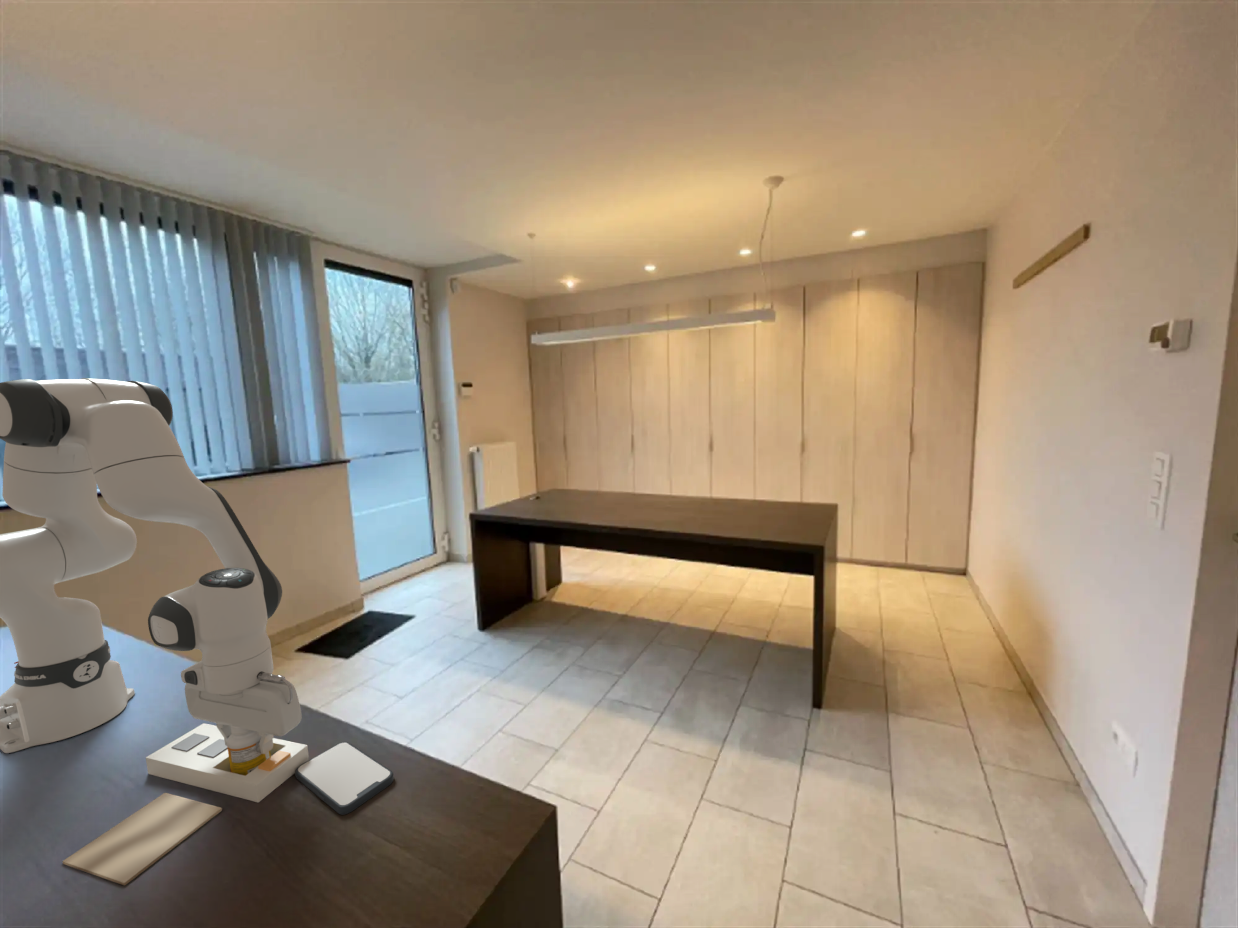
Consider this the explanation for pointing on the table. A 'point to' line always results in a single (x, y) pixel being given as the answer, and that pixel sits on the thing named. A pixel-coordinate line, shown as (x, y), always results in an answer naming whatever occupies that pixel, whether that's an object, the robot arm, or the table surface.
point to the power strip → (224, 764)
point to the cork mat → (142, 838)
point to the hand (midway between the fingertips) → (249, 747)
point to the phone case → (344, 777)
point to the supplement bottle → (244, 751)
